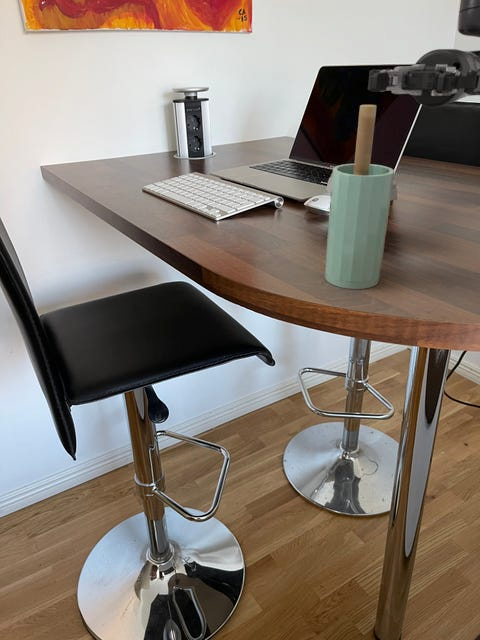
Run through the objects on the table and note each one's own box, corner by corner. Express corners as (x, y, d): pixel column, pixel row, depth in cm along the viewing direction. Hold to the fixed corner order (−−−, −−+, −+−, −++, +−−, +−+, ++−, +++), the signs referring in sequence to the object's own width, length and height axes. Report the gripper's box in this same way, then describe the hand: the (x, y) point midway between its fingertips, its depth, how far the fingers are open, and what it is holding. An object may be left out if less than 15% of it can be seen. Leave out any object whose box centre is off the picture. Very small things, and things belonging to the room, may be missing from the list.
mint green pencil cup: (373, 268, 68) (387, 163, 62) (383, 289, 62) (399, 176, 56) (322, 267, 69) (330, 163, 62) (327, 288, 63) (336, 176, 56)
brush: (363, 264, 67) (382, 103, 57) (369, 276, 63) (390, 107, 54) (333, 264, 67) (347, 103, 58) (337, 276, 64) (353, 107, 54)
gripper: (401, 49, 76) (356, 50, 65) (501, 48, 69) (471, 48, 57) (394, 102, 80) (351, 112, 68) (489, 106, 72) (458, 118, 61)
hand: (406, 83), depth 63 cm, fingers open, 8 cm apart
